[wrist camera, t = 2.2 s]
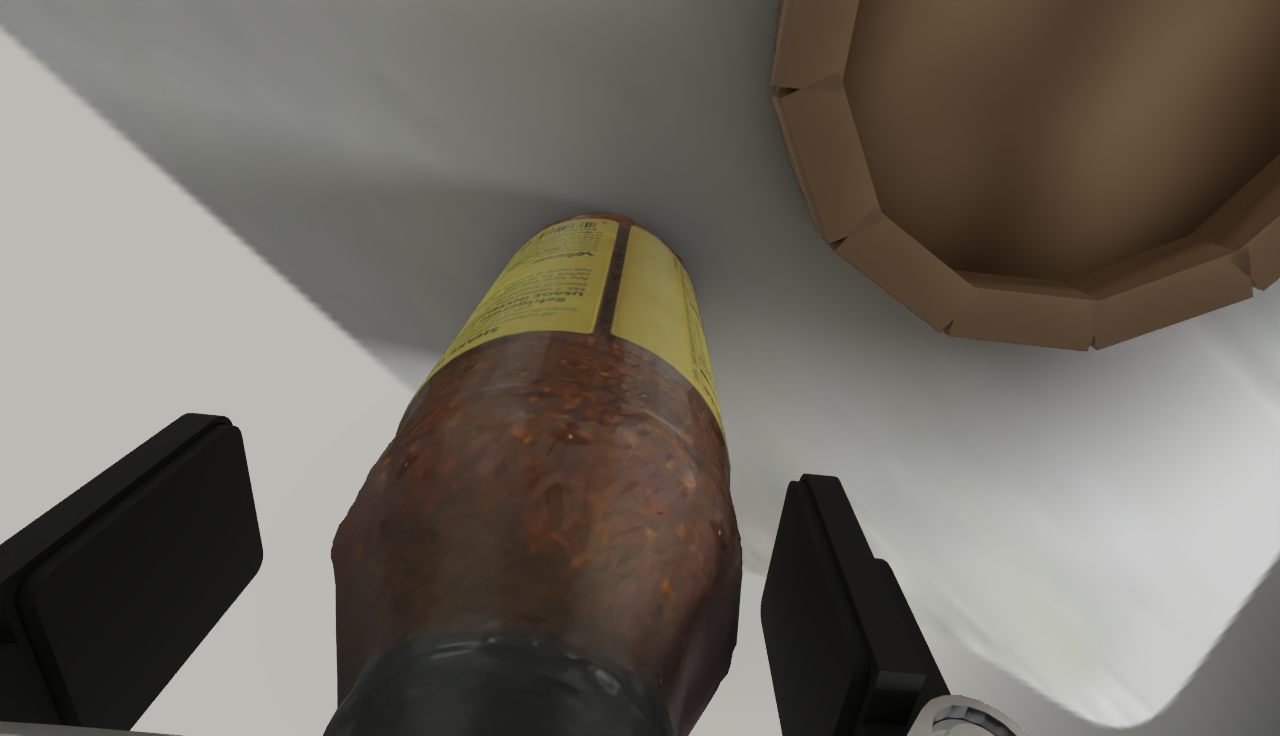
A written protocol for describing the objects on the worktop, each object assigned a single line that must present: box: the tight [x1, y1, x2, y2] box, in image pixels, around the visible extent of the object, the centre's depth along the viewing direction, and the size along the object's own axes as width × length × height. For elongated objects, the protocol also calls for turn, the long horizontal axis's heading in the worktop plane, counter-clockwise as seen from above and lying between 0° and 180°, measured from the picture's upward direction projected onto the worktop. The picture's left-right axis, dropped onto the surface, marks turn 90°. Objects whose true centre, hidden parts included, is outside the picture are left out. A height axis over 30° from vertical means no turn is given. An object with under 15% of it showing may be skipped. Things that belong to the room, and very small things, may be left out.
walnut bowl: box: [770, 0, 1280, 351], centre depth 16 cm, size 16×16×3 cm
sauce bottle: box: [323, 213, 742, 736], centre depth 12 cm, size 7×6×20 cm
